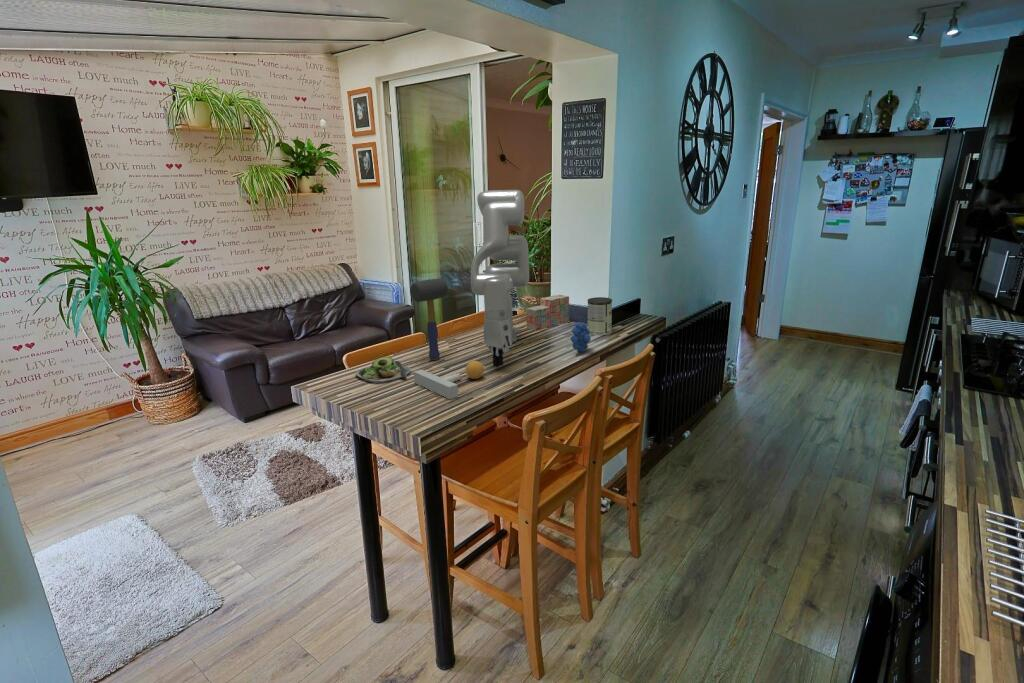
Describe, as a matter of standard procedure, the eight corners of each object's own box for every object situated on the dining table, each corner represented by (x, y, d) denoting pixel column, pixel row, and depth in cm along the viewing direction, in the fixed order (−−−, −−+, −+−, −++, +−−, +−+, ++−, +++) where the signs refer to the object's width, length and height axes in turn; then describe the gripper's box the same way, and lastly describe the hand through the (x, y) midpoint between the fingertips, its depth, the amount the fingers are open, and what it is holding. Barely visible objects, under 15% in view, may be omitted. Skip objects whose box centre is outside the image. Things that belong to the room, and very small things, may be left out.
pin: (457, 379, 174) (436, 385, 169) (457, 372, 174) (435, 379, 168) (461, 381, 173) (440, 388, 167) (461, 374, 172) (440, 381, 166)
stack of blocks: (536, 331, 229) (535, 303, 226) (526, 328, 234) (525, 301, 230) (569, 322, 243) (569, 295, 239) (559, 319, 247) (559, 294, 244)
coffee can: (587, 328, 230) (587, 297, 226) (611, 328, 228) (611, 297, 224) (587, 335, 220) (587, 302, 216) (612, 335, 218) (612, 302, 215)
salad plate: (425, 375, 180) (424, 362, 179) (380, 390, 168) (379, 376, 167) (393, 363, 193) (392, 351, 192) (349, 376, 181) (348, 364, 180)
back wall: (422, 380, 174) (421, 369, 173) (458, 396, 159) (457, 384, 158) (414, 383, 172) (413, 371, 171) (450, 399, 157) (449, 387, 156)
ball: (459, 373, 173) (471, 376, 178) (471, 380, 169) (483, 382, 174) (466, 356, 173) (478, 360, 177) (478, 363, 169) (490, 366, 174)
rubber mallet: (426, 365, 188) (419, 283, 180) (414, 361, 194) (407, 280, 185) (454, 357, 196) (448, 278, 188) (442, 353, 202) (436, 276, 193)
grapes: (582, 358, 191) (582, 326, 187) (566, 355, 195) (566, 324, 191) (598, 350, 199) (598, 319, 196) (583, 347, 203) (583, 317, 200)
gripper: (519, 315, 173) (520, 367, 179) (490, 308, 184) (492, 358, 189) (502, 319, 169) (504, 373, 174) (473, 312, 179) (476, 363, 185)
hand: (498, 365), depth 182 cm, fingers closed
